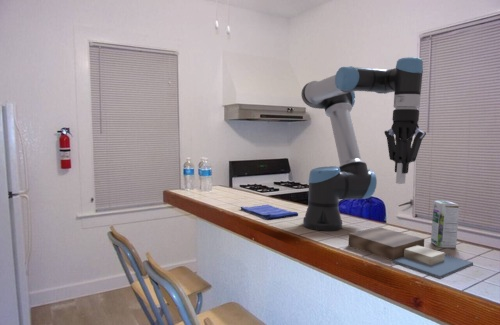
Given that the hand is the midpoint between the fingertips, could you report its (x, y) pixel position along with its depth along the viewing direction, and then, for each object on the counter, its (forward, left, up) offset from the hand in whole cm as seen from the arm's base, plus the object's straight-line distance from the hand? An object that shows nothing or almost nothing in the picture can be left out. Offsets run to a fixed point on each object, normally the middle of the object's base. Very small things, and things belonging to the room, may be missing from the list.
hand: (400, 183), depth 109 cm
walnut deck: (-1, -5, -21) cm, 21 cm away
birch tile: (+12, -5, -20) cm, 24 cm away
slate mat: (+14, -5, -21) cm, 26 cm away
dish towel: (-61, -7, -21) cm, 65 cm away
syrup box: (+7, +15, -21) cm, 26 cm away
